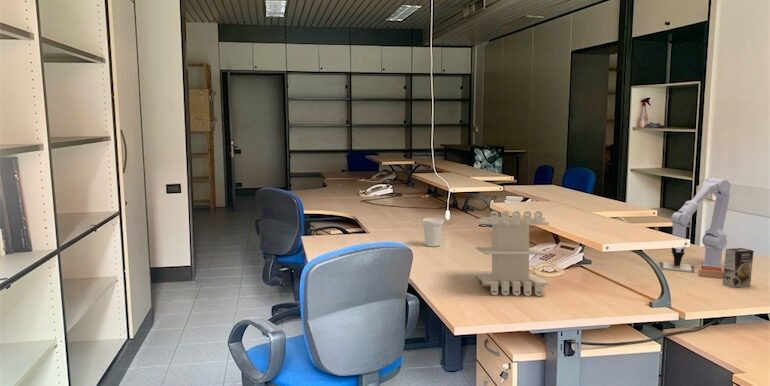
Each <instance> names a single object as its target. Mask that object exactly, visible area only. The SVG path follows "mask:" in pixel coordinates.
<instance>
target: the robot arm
mask: <svg viewBox="0 0 770 386" xmlns="http://www.w3.org/2000/svg"><path fill="white" fill-rule="evenodd" d="M731 186H732V184H731V183H730V181H729V180H728V179H727V178H717V177H712V176H710V177H707V178H706V179H705V180H704V181H703V182H702V187H700V189H699V190H698V192H697V193H696V194H695V195H694V197H693V198H692V199H690V200H687V201H684V202H685V203H684V204H683V206H681V208H680V209H678V211H675V212H674V213H672V214H671V216H670V221H671V223H672V224H671V225H672V235H673V236H677V237H681V238H684V239H685V240H686V239H687V238H686V236H687V225H688V224H689V223H690V221H691V218H692V216H693V215H694V213H695V212H696V211H698V209H699V204H700V203H701V202H703V201H704V200H705V199H706V198H707V196H709V195H711V194H713V195H714V196H715V202H714V207H713V213H712V216H711V222H710V226H709V228H708V229H707V230H706V231H705V232H704V235H703V236H702V238H701V242H702V244H703V245H704V248H705V250H704V261H702V265H705V266H715V267H723V265H722V257H723V251H724V249H726V247H727V244H728V241H727V233H726V232H725V231H724V225H725V221H726V216H727V212H728V206H729V201H730V197H731V195H730V193H731V191H730V190H731ZM685 248H686V246H685V247H683V248H673V247H671V253H672V256H673V263H674V264H675V265H678V266H680V263H681V262H682V260H683V257H684V255H685V252H686V251H685ZM681 264H682V263H681Z"/></svg>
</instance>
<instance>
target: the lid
mask: <svg viewBox="0 0 770 386" xmlns="http://www.w3.org/2000/svg"><path fill="white" fill-rule="evenodd" d="M662 263H663V269H668V270H667V271H670V270H678V271H677V272H679V271H687V272H686V273H688V272H691V266H692V265H691V264H690V263H689V264H688V263H680V266H678V265H675V264H674V262H670V261H669V262H668V261H663V262H662Z"/></svg>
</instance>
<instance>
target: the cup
mask: <svg viewBox="0 0 770 386" xmlns="http://www.w3.org/2000/svg"><path fill="white" fill-rule="evenodd" d="M421 221H422V222H421V223H422V224H423V231H424V233H423V234H424V242H425V243H424V244H425V246H426V247H428V248H437V247H440V246H441V237H442V230H443V224H444V221H445V220H444V219H443V218H439V217H427V218H425V217H424V218H423V219H422V220H421Z"/></svg>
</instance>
